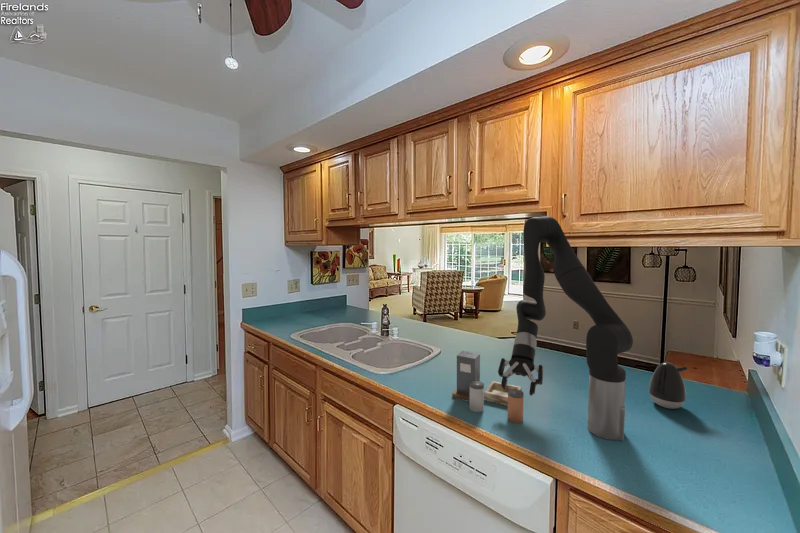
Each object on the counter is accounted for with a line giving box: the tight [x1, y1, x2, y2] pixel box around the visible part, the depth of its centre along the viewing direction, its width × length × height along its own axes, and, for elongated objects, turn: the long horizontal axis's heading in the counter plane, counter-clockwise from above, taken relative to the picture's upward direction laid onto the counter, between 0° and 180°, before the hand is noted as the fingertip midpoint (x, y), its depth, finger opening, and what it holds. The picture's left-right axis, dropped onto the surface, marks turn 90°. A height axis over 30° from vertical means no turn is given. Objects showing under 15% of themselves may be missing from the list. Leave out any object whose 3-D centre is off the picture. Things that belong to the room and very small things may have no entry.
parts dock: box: [484, 380, 522, 407], centre depth 122 cm, size 11×11×3 cm
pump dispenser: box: [648, 361, 688, 410], centre depth 115 cm, size 10×10×15 cm
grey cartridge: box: [468, 380, 485, 413], centre depth 114 cm, size 5×5×9 cm
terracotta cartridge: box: [507, 389, 525, 424], centre depth 107 cm, size 5×5×9 cm
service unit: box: [451, 350, 481, 402], centre depth 124 cm, size 9×10×16 cm
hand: (517, 391), depth 110 cm, fingers open, 8 cm apart
